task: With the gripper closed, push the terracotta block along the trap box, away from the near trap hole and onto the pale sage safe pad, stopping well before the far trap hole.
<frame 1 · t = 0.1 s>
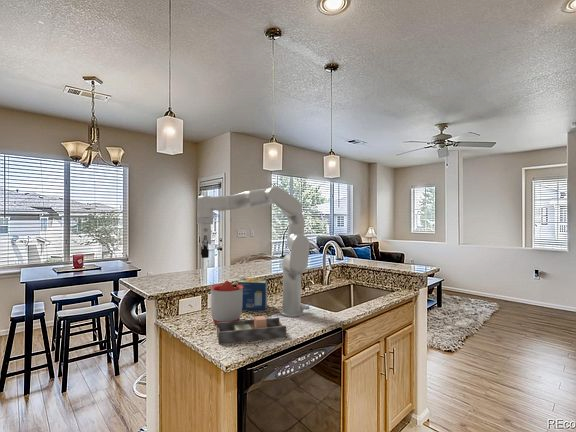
hand: (204, 256, 151), 31 cm above the worktop, tool pointing down, fingers open, 9 cm apart
protein box: (252, 308, 173), on the worktop
terracotta block: (260, 327, 134), point 3 cm above the worktop, touching trap box
citrus juicer: (227, 321, 150), on the worktop
trap box: (250, 335, 133), on the worktop
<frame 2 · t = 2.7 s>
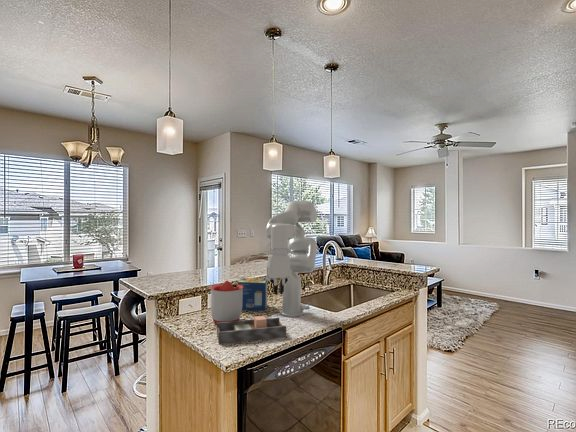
hand: (278, 293, 137), 17 cm above the worktop, tool pointing down, fingers closed
nothing on the worktop moved.
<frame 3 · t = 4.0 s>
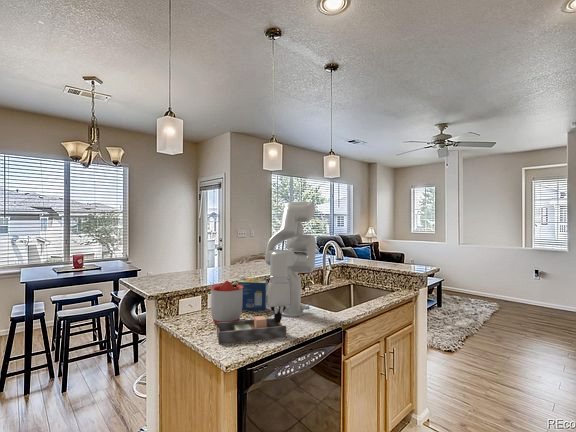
hand: (277, 321, 136), 5 cm above the worktop, tool pointing down, fingers closed
nothing on the worktop moved.
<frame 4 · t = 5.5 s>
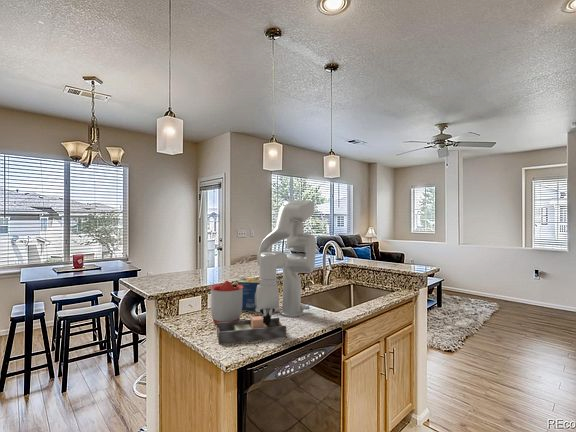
hand: (266, 324, 135), 4 cm above the worktop, tool pointing down, fingers closed
terracotta block: (256, 327, 134), point 3 cm above the worktop, touching gripper, trap box
everything else where it was.
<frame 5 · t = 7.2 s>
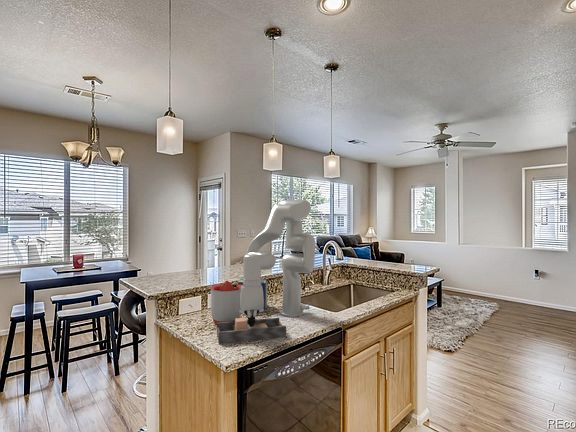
hand: (251, 325, 133), 4 cm above the worktop, tool pointing down, fingers closed
terracotta block: (240, 329, 132), point 3 cm above the worktop, touching gripper, trap box
everything else where it was.
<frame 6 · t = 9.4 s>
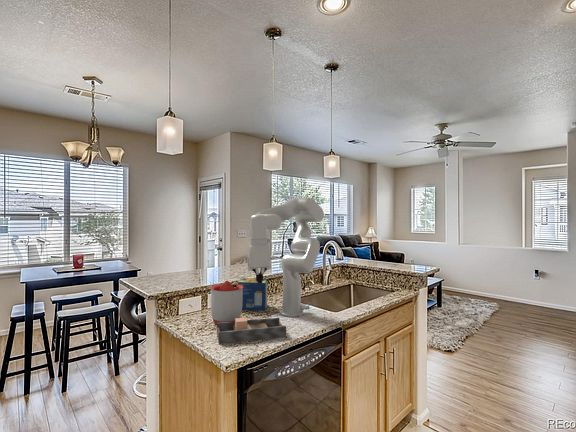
hand: (259, 282, 140), 21 cm above the worktop, tool pointing down, fingers closed
terracotta block: (240, 329, 132), point 3 cm above the worktop, touching trap box
everything else where it was.
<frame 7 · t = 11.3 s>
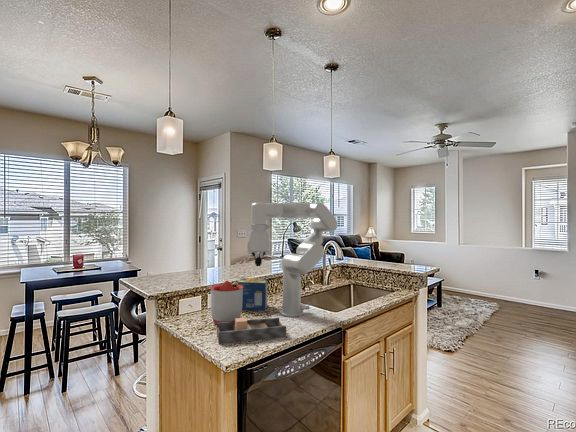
hand: (258, 265, 150), 27 cm above the worktop, tool pointing down, fingers closed
nothing on the worktop moved.
at the end: terracotta block 0.8 cm from the target spot, point 3.0 cm above the worktop; terracotta block tilted 0° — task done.
